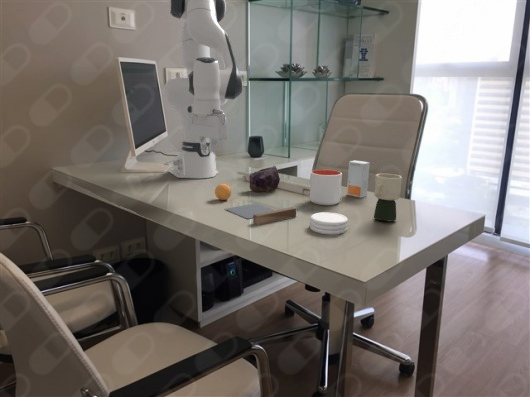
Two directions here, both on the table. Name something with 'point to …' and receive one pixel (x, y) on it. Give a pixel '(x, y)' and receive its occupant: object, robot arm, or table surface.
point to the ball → (223, 191)
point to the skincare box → (358, 178)
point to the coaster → (328, 223)
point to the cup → (325, 187)
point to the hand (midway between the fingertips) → (207, 150)
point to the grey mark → (249, 210)
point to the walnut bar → (274, 215)
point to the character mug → (387, 196)
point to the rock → (264, 180)
